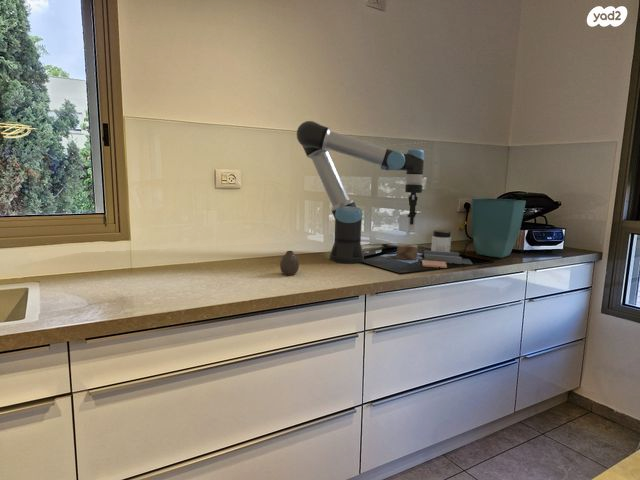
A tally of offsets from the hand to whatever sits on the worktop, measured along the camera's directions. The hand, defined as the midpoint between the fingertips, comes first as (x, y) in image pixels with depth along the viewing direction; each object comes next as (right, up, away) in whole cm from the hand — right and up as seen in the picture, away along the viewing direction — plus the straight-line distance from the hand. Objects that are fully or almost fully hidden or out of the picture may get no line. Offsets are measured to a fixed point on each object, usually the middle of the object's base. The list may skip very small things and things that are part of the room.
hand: (411, 229), depth 194 cm
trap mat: (+24, -15, -3) cm, 29 cm away
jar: (+17, -12, +11) cm, 24 cm away
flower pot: (+46, -13, +17) cm, 51 cm away
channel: (+14, -14, -1) cm, 20 cm away
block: (-2, -13, +2) cm, 13 cm away
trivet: (+7, -16, -12) cm, 21 cm away
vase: (-54, -18, -39) cm, 69 cm away
